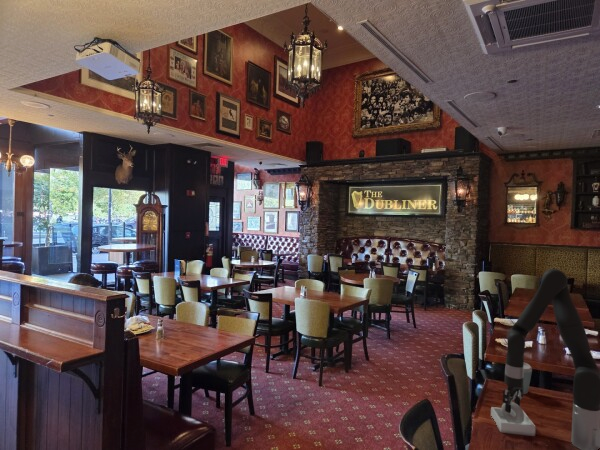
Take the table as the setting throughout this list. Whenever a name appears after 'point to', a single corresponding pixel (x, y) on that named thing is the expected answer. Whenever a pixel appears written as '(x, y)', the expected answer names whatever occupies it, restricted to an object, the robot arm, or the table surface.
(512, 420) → the donut
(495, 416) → the walled tray
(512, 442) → the table surface
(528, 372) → the disposable coffee cup
